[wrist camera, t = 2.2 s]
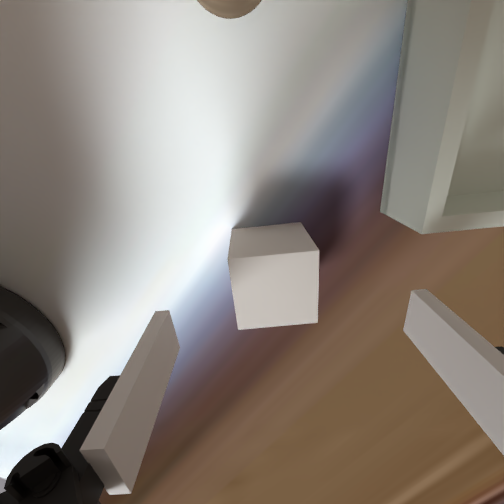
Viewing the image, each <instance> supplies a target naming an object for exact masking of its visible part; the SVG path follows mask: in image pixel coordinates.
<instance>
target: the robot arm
mask: <svg viewBox="0 0 504 504" xmlns="http://www.w3.org/2000/svg"><path fill="white" fill-rule="evenodd" d="M403 331H404V332H405V333H406V334H407V336H408V337H409V338H410V339H411V341H412V342H413V343H414V344H415V346H416V347H417V348H418V349H419V350H420V352H421V353H422V354H423V355H424V357H425V358H426V359H427V360H428V362H429V363H430V364H431V365H432V367H433V368H434V369H435V370H436V372H437V373H438V374H439V375H440V377H441V378H442V379H443V380H444V382H445V383H446V384H447V385H448V387H449V388H450V389H451V390H452V392H453V393H454V394H455V395H456V397H457V398H458V399H459V400H460V402H461V403H462V404H463V405H464V407H465V408H466V409H467V410H468V412H469V413H470V414H471V415H472V417H473V418H474V419H475V420H476V422H477V423H478V424H479V425H480V426H481V428H482V429H483V430H484V431H485V433H486V434H487V435H488V436H489V438H490V439H491V440H492V441H493V443H494V444H495V445H496V446H497V448H498V449H499V450H500V451H501V453H502V454H503V455H504V348H503V347H494V346H493V345H491V344H490V343H489V342H488V341H487V340H486V339H484V338H483V337H482V336H481V335H480V334H479V333H477V332H476V331H475V330H474V329H473V328H471V327H470V326H469V325H468V324H467V323H466V322H464V321H463V320H462V319H461V318H460V317H459V316H457V315H456V314H455V313H454V312H453V311H451V310H450V309H449V308H448V307H447V306H446V305H444V304H443V303H442V302H441V301H440V300H439V299H437V298H436V297H435V296H434V295H433V294H431V293H430V292H429V291H428V290H427V289H422V290H412V292H411V296H410V301H409V306H408V310H407V315H406V320H405V325H404V329H403ZM179 349H180V346H179V343H178V339H177V336H176V332H175V329H174V326H173V322H172V319H171V315H170V312H169V310H167V311H155V313H154V315H153V317H152V318H151V320H150V322H149V324H148V326H147V328H146V329H145V331H144V333H143V335H142V337H141V339H140V340H139V342H138V344H137V346H136V348H135V350H134V351H133V353H132V355H131V357H130V359H129V360H128V362H127V364H126V366H125V368H124V370H123V371H122V373H121V375H120V376H110V377H109V378H108V379H107V380H106V381H105V382H104V383H103V384H102V385H101V386H100V387H99V388H98V389H97V391H96V393H95V394H94V396H93V397H92V399H91V402H89V404H88V406H87V407H86V409H85V412H84V413H83V414H82V416H81V417H80V419H79V420H78V422H77V424H76V425H75V427H74V429H73V430H72V432H71V434H70V435H69V437H68V439H67V440H66V442H65V443H64V445H63V447H62V448H60V446H59V445H58V444H55V443H48V444H43V445H41V446H39V447H37V448H35V449H33V450H32V451H31V452H30V453H28V454H27V455H26V456H24V457H23V458H22V459H21V460H20V461H19V462H18V463H17V465H16V466H15V467H14V468H13V469H12V471H11V473H10V474H9V476H8V477H7V480H6V483H5V487H4V489H5V490H6V491H5V492H3V493H1V494H0V504H100V502H99V498H100V495H101V493H102V490H103V488H104V487H105V489H106V490H107V492H108V493H109V495H114V494H131V492H132V489H133V486H134V483H135V480H136V477H137V474H138V471H139V468H140V465H141V462H142V459H143V456H144V453H145V450H146V447H147V444H148V441H149V438H150V435H151V432H152V429H153V426H154V423H155V420H156V417H157V414H158V411H159V408H160V405H161V402H162V399H163V396H164V393H165V390H166V388H167V385H168V382H169V379H170V376H171V373H172V370H173V367H174V364H175V361H176V358H177V355H178V352H179ZM64 363H65V352H64V347H63V344H62V341H61V339H60V337H59V335H58V333H57V332H56V330H55V329H54V327H53V326H52V325H51V323H50V322H49V321H48V320H47V319H46V318H45V317H44V316H43V315H42V314H41V313H40V312H39V311H38V310H37V309H36V308H34V307H33V306H32V305H30V304H29V303H28V302H26V301H25V300H23V299H22V298H20V297H19V296H17V295H15V294H13V293H12V292H10V291H8V290H6V289H4V288H2V287H0V430H1V429H2V428H3V427H5V426H6V425H7V424H9V423H10V422H11V421H13V420H14V419H15V418H16V417H17V416H19V415H20V414H21V413H22V412H24V411H25V410H26V409H27V408H29V407H31V406H32V405H33V404H34V403H36V402H37V401H38V400H39V399H40V398H41V397H42V396H43V395H44V394H45V393H46V392H47V391H48V389H49V388H50V387H51V385H52V384H53V383H54V382H55V380H56V379H57V378H58V376H59V375H60V374H61V372H62V370H63V367H64Z"/></svg>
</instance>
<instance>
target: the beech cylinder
mask: <svg viewBox="0 0 504 504" xmlns="http://www.w3.org/2000/svg"><path fill="white" fill-rule="evenodd" d="M197 1H198V2H199V3H200V4H201V5H202V6H203V7H204V8H205V9H206V10H207V11H209V12H210V13H212V14H214V15H216V16H218V17H222V18H227V19H232V18H239V17H242V16H244V15H246V14H248V13H250V12H251V11H252V10H253V9H255V8H256V7H257V5H258V4H259V3H260V2H261V1H262V0H197Z"/></svg>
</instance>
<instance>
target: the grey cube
mask: <svg viewBox="0 0 504 504" xmlns="http://www.w3.org/2000/svg"><path fill="white" fill-rule="evenodd" d="M228 265H229V272H230V279H231V285H232V292H233V298H234V305H235V312H236V318H237V325H238V330H242V329H253V328H264V327H275V326H286V325H297V324H307V323H318V285H319V249H318V248H317V246H316V245H315V243H314V242H313V240H312V239H311V237H310V236H309V234H308V233H307V231H306V230H305V228H304V227H303V225H302V224H301V222H297V223H287V224H277V225H267V226H256V227H246V228H236V229H232V231H231V238H230V246H229V253H228Z"/></svg>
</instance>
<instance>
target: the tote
mask: <svg viewBox="0 0 504 504" xmlns="http://www.w3.org/2000/svg"><path fill="white" fill-rule="evenodd" d="M380 212H382V213H384V214H385V215H387V216H389V217H391V218H393V219H395V220H397V221H398V222H400V223H402V224H404V225H406V226H408V227H409V228H411V229H413V230H415V231H417V232H419V233H420V234H428V233H439V232H449V231H459V230H470V229H480V228H490V227H501V226H504V0H408V1H407V9H406V16H405V24H404V32H403V39H402V47H401V55H400V62H399V70H398V78H397V85H396V93H395V101H394V108H393V116H392V124H391V131H390V139H389V147H388V154H387V162H386V170H385V177H384V185H383V193H382V200H381V208H380Z"/></svg>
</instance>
